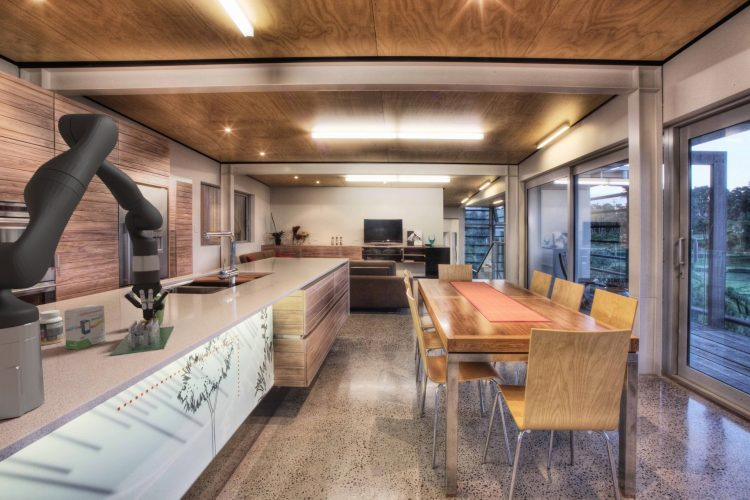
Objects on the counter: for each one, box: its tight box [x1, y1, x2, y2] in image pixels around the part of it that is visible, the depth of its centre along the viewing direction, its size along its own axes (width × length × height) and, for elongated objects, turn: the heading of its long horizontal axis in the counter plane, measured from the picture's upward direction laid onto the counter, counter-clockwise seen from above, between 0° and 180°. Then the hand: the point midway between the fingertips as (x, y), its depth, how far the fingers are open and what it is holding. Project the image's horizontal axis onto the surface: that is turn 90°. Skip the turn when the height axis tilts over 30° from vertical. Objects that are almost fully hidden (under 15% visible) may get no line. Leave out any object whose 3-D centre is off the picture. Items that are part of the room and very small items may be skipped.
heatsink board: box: [110, 313, 175, 357], centre depth 109 cm, size 25×13×6 cm, turn 25°
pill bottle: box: [39, 309, 64, 346], centre depth 107 cm, size 6×6×10 cm
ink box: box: [63, 304, 107, 351], centre depth 105 cm, size 9×5×12 cm, turn 168°
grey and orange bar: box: [135, 318, 157, 336], centre depth 109 cm, size 19×4×1 cm, turn 25°
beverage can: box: [147, 292, 167, 326], centre depth 126 cm, size 6×7×12 cm
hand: (148, 319), depth 114 cm, fingers closed
